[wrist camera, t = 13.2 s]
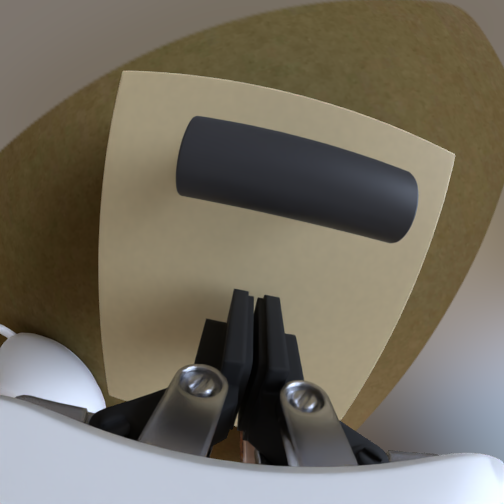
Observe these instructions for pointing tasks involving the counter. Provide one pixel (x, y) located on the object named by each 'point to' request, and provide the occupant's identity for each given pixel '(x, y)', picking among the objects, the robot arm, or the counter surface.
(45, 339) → the teapot
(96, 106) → the counter surface
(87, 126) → the counter surface
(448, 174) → the lid
